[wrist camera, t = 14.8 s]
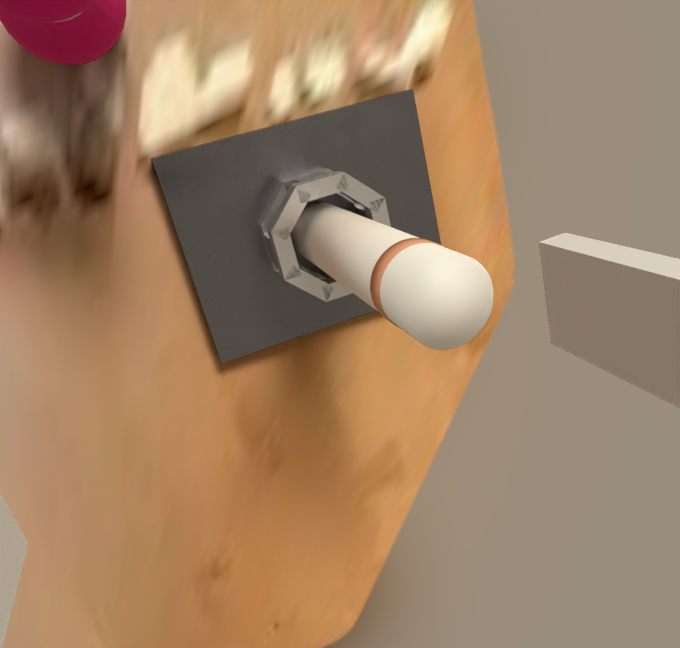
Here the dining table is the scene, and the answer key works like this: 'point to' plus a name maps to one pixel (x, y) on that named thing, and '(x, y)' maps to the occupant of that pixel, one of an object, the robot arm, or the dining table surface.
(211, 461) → the dining table surface
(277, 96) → the dining table surface
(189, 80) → the dining table surface
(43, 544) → the dining table surface
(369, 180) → the tube holder base
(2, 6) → the pepper mill
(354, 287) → the cream ringed tube
